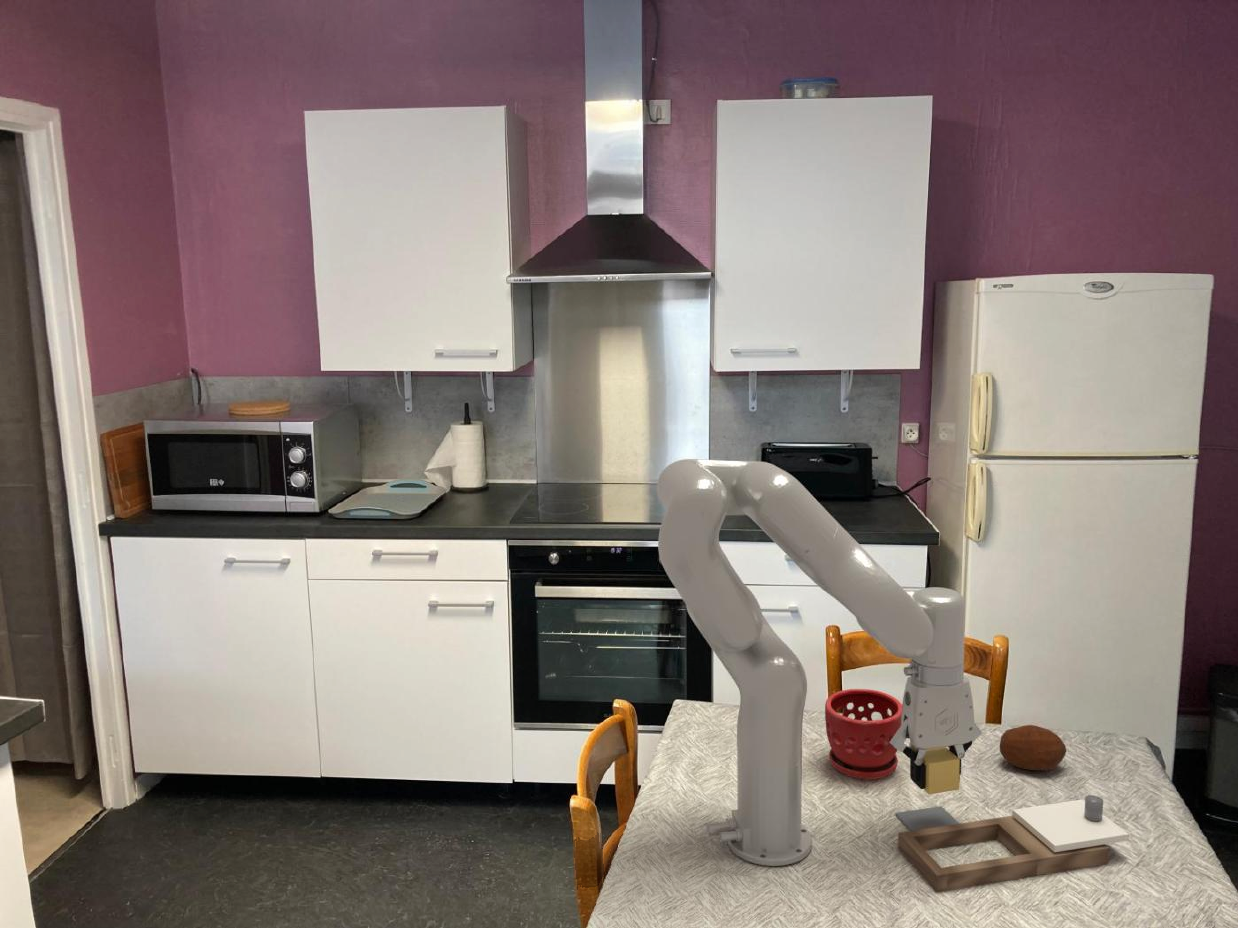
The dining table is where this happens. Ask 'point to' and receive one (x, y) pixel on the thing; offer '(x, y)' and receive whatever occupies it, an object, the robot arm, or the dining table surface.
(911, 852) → the brown box
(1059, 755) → the potato
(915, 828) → the mat
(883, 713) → the plant pot
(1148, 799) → the dining table surface
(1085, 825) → the lid
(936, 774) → the block
